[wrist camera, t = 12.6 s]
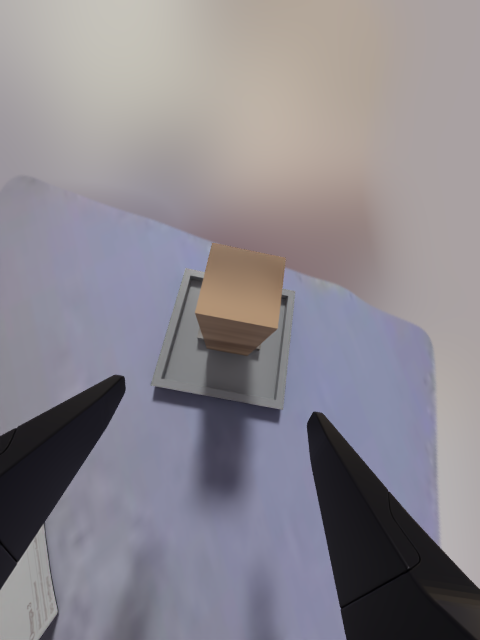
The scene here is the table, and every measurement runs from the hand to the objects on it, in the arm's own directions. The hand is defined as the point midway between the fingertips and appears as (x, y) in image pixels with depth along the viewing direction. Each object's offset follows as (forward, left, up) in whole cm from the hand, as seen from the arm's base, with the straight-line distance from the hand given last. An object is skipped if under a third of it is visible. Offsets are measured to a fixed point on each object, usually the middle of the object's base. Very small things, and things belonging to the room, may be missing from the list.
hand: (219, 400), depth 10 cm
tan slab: (+6, +2, -13) cm, 14 cm away
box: (+6, +2, -13) cm, 15 cm away
